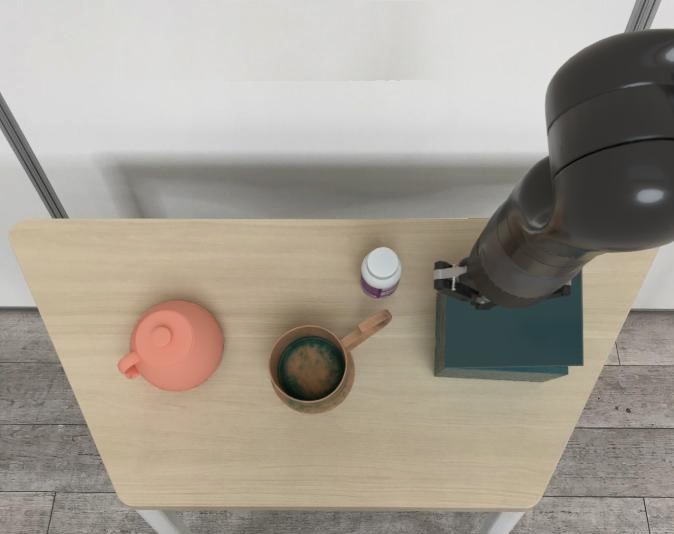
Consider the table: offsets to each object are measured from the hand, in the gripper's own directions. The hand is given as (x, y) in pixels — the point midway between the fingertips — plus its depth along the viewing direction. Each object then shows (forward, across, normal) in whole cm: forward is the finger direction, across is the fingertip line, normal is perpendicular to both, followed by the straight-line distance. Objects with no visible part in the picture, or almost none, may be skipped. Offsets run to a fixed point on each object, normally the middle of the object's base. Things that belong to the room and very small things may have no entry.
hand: (481, 300), depth 64 cm
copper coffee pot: (+21, +16, +4) cm, 27 cm away
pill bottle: (+21, +10, -7) cm, 25 cm away
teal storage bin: (+21, -5, 0) cm, 22 cm away
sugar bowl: (+21, +38, +4) cm, 43 cm away
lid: (+7, -5, 0) cm, 9 cm away
